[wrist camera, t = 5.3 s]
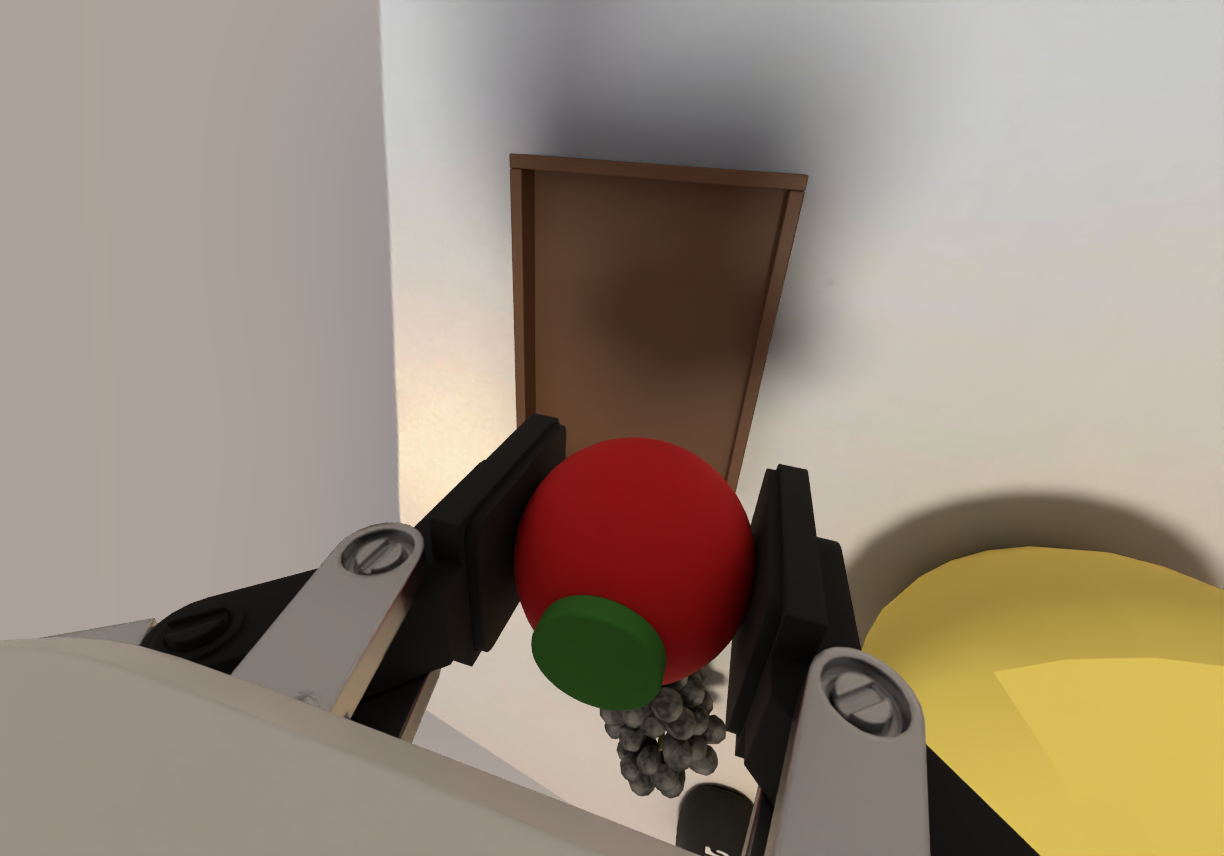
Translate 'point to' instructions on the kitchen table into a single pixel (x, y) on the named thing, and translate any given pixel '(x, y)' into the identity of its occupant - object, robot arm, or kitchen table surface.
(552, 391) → the serving tray
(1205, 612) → the vase
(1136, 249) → the kitchen table surface
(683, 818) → the computer mouse
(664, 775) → the fruit
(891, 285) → the kitchen table surface
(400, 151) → the kitchen table surface
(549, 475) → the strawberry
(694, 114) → the kitchen table surface
